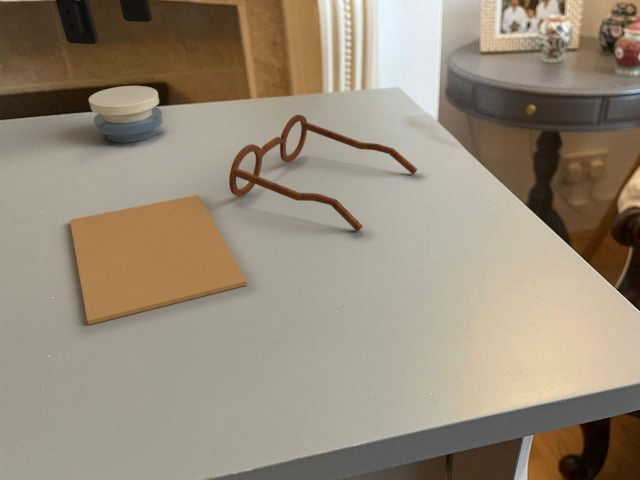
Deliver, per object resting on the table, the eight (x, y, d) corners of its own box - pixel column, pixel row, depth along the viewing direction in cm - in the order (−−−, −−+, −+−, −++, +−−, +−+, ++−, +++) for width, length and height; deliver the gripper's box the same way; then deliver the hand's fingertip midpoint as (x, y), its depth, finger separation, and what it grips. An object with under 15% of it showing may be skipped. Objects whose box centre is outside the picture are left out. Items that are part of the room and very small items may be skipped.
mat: (70, 223, 56) (69, 219, 56) (199, 198, 60) (198, 194, 60) (88, 325, 44) (86, 320, 44) (247, 285, 48) (246, 280, 48)
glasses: (302, 154, 68) (298, 107, 66) (417, 174, 64) (419, 125, 61) (229, 206, 59) (221, 154, 56) (360, 234, 54) (358, 179, 51)
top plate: (79, 123, 70) (73, 103, 69) (118, 102, 76) (113, 83, 75) (139, 129, 69) (134, 108, 67) (173, 107, 74) (170, 88, 73)
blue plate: (84, 143, 71) (79, 123, 70) (122, 120, 77) (118, 102, 76) (143, 149, 70) (139, 129, 69) (177, 125, 76) (173, 107, 74)
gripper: (86, -169, 66) (127, 13, 75) (-48, -172, 52) (24, 51, 61) (152, -171, 64) (186, 14, 73) (32, -175, 50) (93, 54, 60)
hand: (112, 31), depth 67 cm, fingers open, 9 cm apart
